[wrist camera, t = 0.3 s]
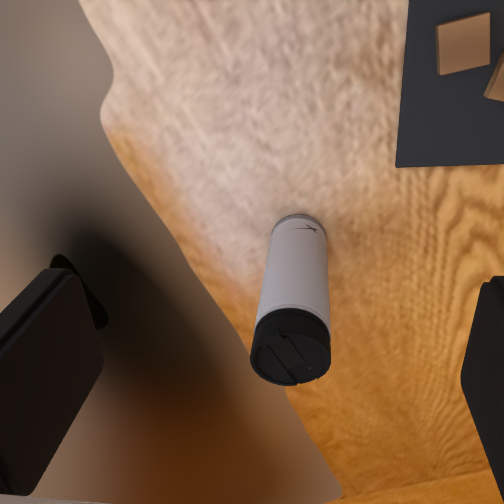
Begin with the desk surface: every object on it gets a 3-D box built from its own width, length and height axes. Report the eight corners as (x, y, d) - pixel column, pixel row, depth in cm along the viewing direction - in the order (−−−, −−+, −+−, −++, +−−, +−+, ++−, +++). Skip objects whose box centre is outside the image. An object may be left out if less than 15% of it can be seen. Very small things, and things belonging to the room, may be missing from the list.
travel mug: (309, 201, 48) (306, 320, 31) (335, 249, 51) (346, 383, 33) (259, 224, 50) (230, 348, 33) (287, 269, 53) (273, 404, 36)
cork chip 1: (434, 24, 38) (437, 25, 37) (485, 11, 37) (490, 12, 36) (437, 73, 40) (440, 75, 39) (485, 62, 39) (490, 64, 38)
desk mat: (418, -112, 34) (419, -113, 33) (623, -137, 32) (627, -138, 31) (395, 166, 45) (395, 167, 44) (546, 161, 43) (548, 162, 42)
